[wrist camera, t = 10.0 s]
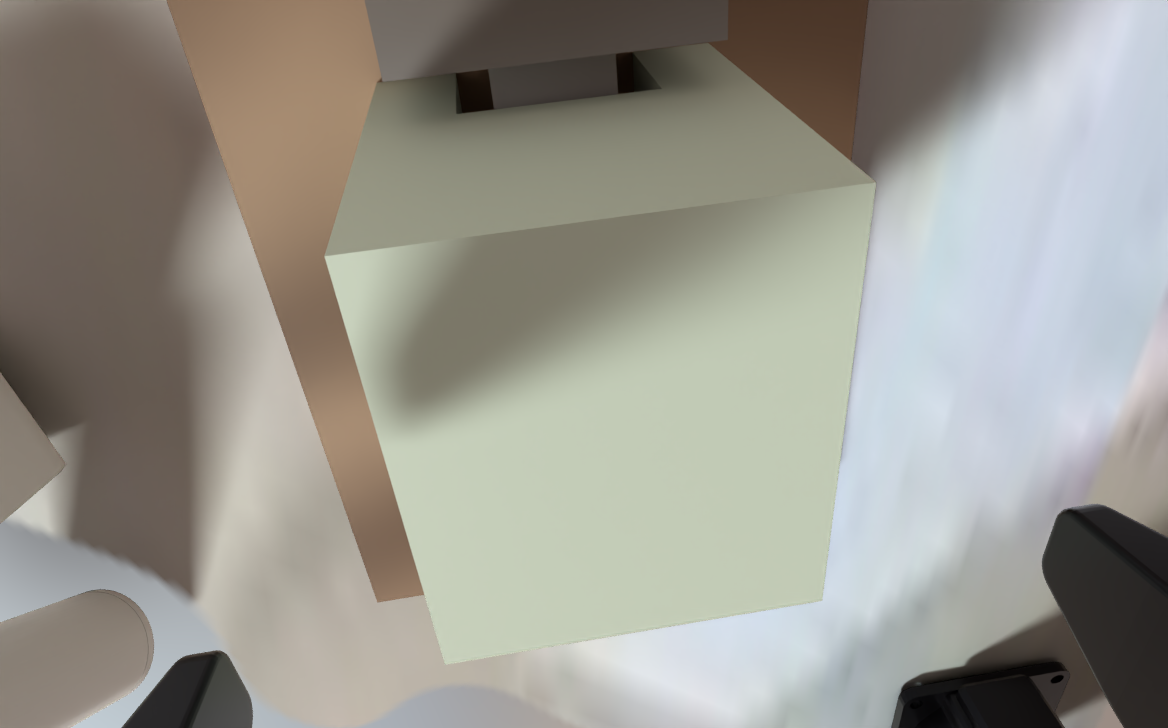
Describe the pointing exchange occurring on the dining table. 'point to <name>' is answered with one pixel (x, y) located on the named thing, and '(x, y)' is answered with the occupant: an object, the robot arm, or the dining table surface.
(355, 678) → the dining table surface
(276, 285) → the cleat board
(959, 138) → the dining table surface
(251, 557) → the dining table surface
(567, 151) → the block
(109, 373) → the dining table surface
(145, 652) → the grey rounded block piece
